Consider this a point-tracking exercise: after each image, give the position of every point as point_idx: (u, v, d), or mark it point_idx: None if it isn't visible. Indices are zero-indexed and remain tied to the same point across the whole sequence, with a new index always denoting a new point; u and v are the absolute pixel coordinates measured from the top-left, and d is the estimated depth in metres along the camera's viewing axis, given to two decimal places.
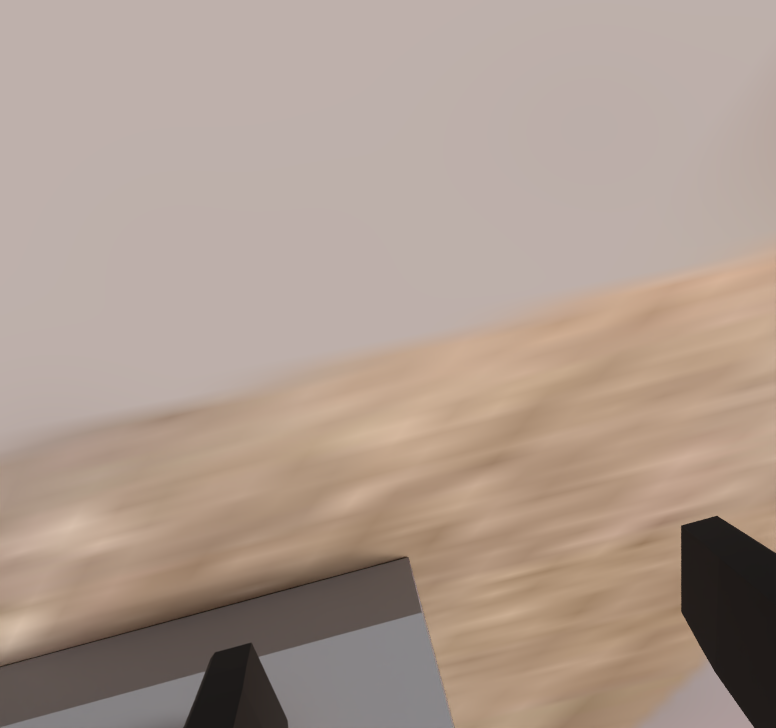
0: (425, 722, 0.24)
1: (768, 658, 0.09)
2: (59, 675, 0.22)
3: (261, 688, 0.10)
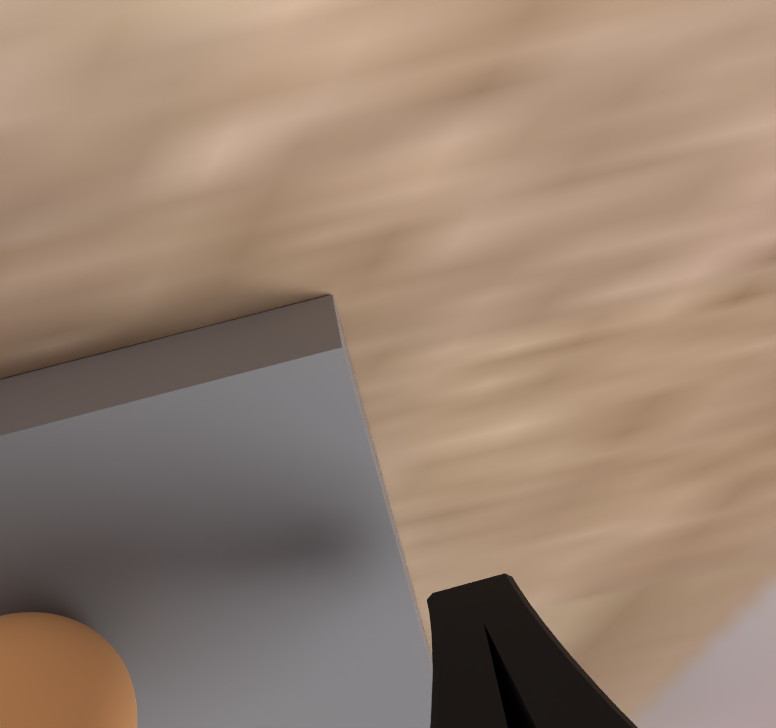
0: (363, 594, 0.13)
1: (520, 727, 0.09)
2: None
3: None
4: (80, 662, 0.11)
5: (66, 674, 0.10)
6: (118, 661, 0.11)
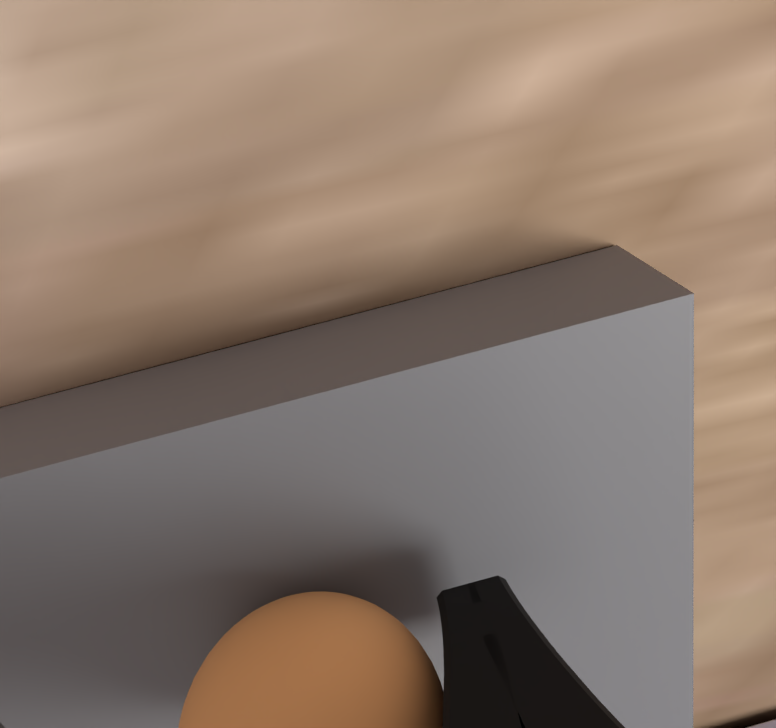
0: (645, 572, 0.12)
1: None
2: None
3: None
4: (406, 647, 0.09)
5: (402, 661, 0.09)
6: (422, 647, 0.10)
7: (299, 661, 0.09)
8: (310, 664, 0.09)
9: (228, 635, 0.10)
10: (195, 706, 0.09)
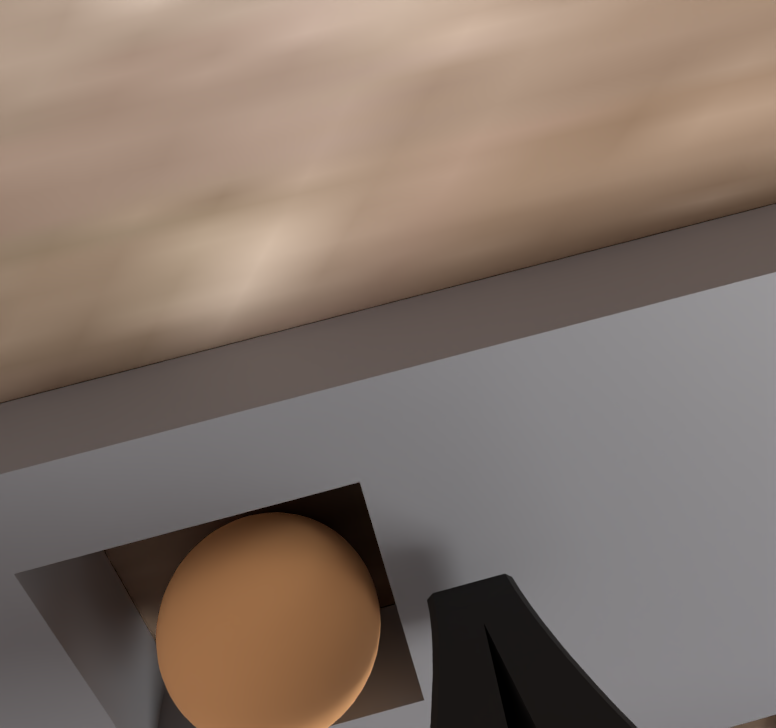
0: None
1: (520, 727, 0.09)
2: (356, 338, 0.11)
3: None
4: None
5: None
6: None
7: (252, 546, 0.11)
8: (258, 541, 0.11)
9: (184, 624, 0.10)
10: (234, 653, 0.10)
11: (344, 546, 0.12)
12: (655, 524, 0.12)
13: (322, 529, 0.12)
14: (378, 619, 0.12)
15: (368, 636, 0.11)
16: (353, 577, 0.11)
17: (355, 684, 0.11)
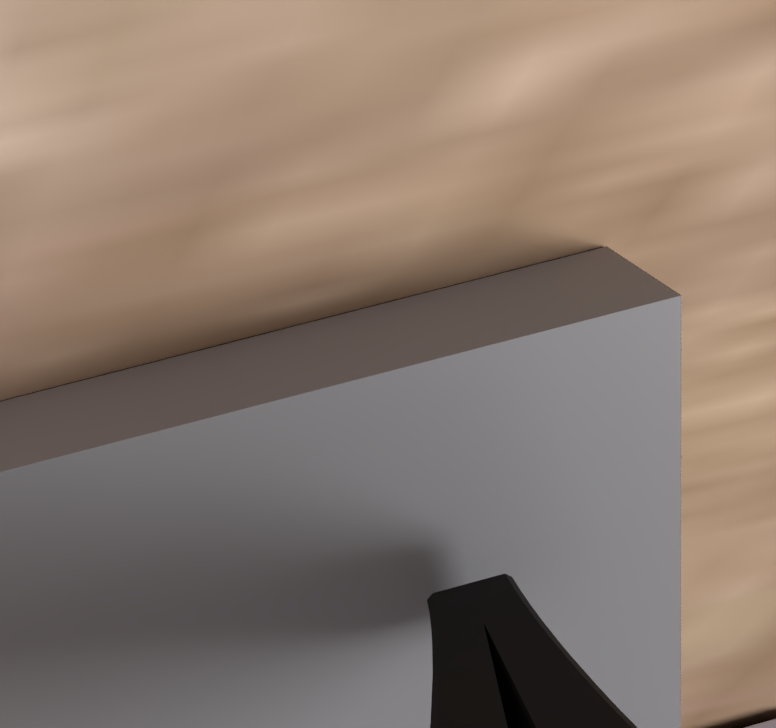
0: (633, 575, 0.12)
1: (520, 727, 0.09)
2: None
3: None
4: None
5: None
6: None
7: None
8: None
9: None
10: None
11: None
12: (242, 635, 0.11)
13: None
14: None
15: None
16: None
17: None
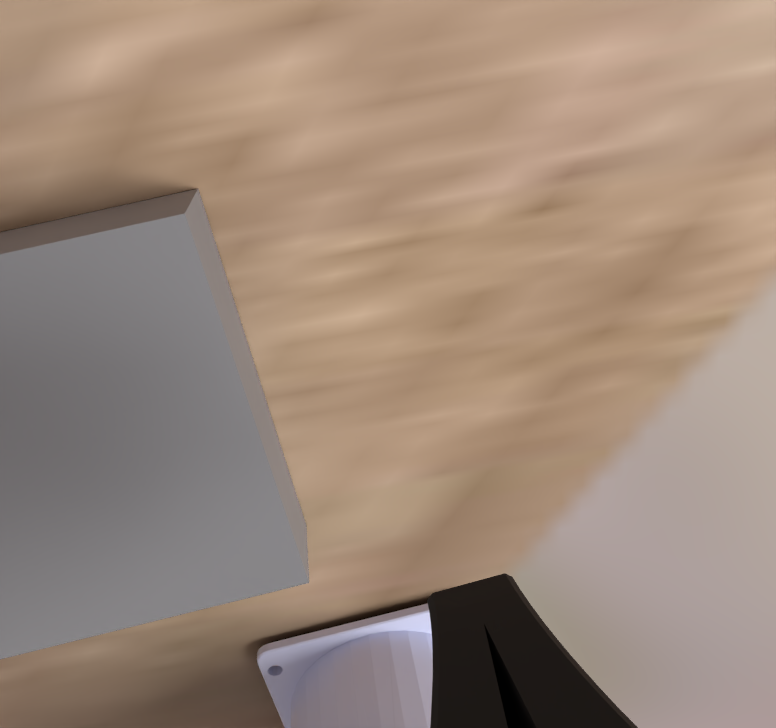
0: (219, 433, 0.16)
1: (520, 727, 0.09)
2: None
3: None
4: None
5: None
6: None
7: None
8: None
9: None
10: None
11: None
12: None
13: None
14: None
15: None
16: None
17: None
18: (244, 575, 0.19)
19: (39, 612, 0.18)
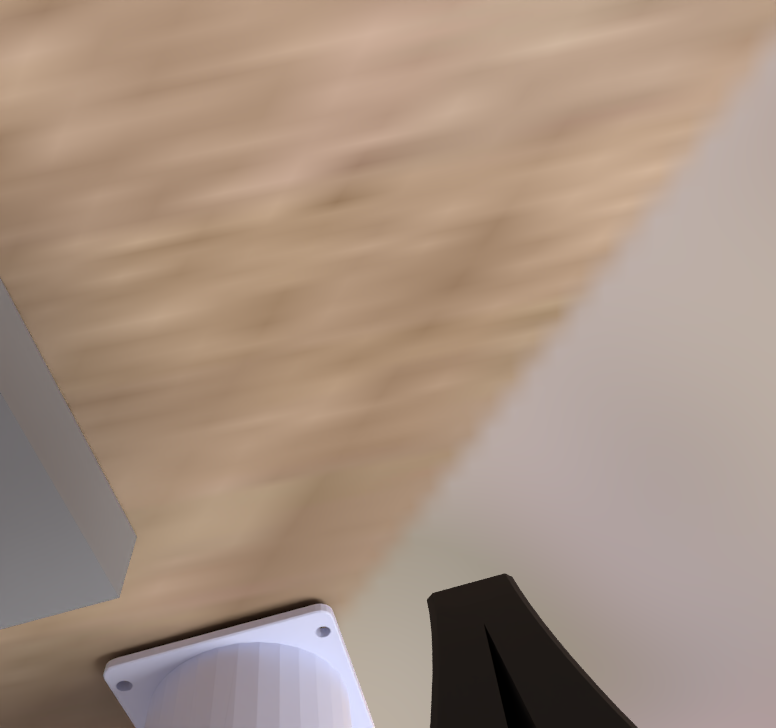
0: None
1: (520, 727, 0.09)
2: None
3: None
4: None
5: None
6: None
7: None
8: None
9: None
10: None
11: None
12: None
13: None
14: None
15: None
16: None
17: None
18: (46, 591, 0.18)
19: None
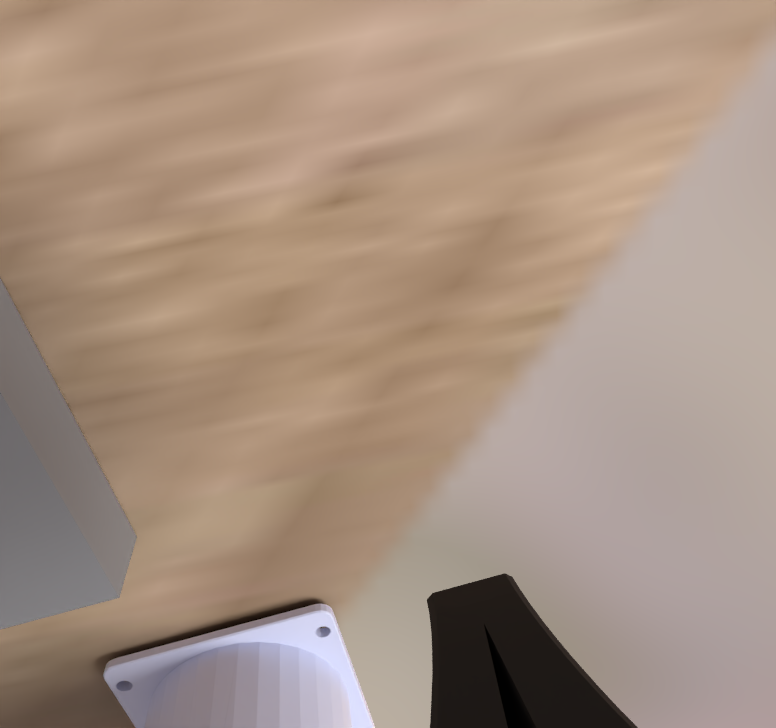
0: None
1: (520, 727, 0.09)
2: None
3: None
4: None
5: None
6: None
7: None
8: None
9: None
10: None
11: None
12: None
13: None
14: None
15: None
16: None
17: None
18: (46, 591, 0.18)
19: None
